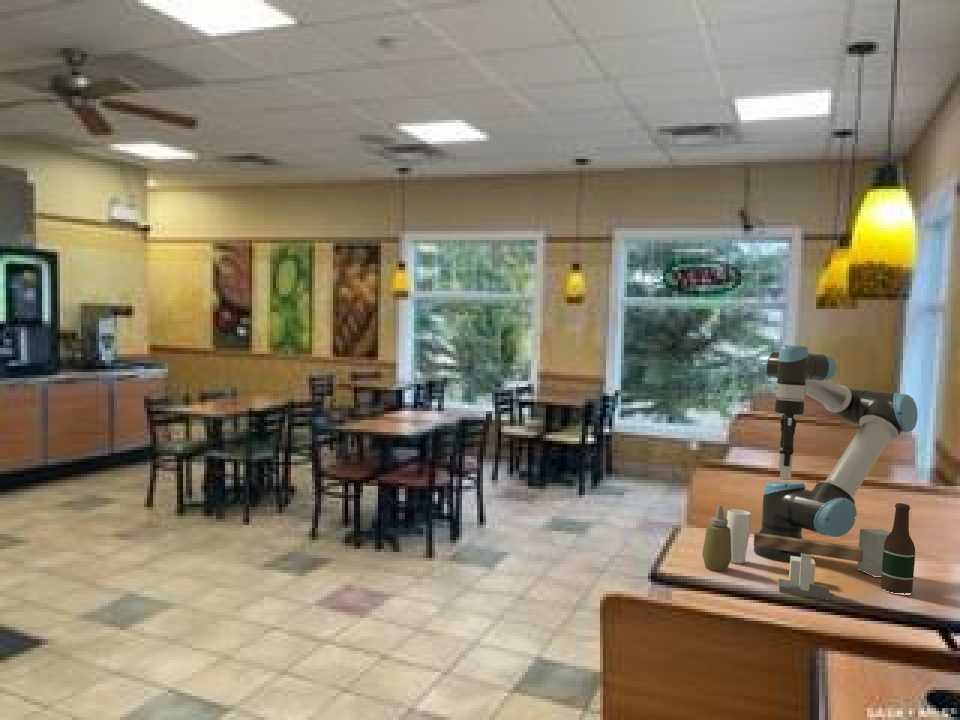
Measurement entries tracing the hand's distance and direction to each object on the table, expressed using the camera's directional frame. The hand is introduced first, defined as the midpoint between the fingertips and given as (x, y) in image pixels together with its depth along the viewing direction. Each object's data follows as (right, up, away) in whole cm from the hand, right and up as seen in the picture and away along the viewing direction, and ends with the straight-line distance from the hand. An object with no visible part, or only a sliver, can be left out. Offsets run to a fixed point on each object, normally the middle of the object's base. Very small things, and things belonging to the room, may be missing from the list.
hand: (784, 474), depth 203 cm
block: (+3, -29, -4) cm, 29 cm away
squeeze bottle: (-19, -28, +2) cm, 34 cm away
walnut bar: (0, -19, -14) cm, 23 cm away
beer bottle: (+27, -31, -8) cm, 42 cm away
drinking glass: (-10, -28, +11) cm, 32 cm away
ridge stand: (-1, -29, -14) cm, 32 cm away
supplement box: (+30, -31, +7) cm, 44 cm away
